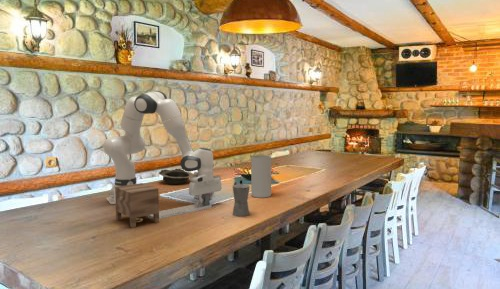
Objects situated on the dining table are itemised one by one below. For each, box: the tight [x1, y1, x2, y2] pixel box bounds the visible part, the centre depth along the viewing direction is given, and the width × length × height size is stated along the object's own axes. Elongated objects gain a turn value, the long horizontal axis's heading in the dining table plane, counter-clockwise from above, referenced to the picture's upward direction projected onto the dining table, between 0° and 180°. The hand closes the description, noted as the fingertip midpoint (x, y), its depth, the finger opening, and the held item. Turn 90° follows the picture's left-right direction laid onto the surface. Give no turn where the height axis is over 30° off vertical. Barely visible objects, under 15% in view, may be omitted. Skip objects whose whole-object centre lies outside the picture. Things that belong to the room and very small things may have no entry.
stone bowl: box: [158, 168, 194, 185], centre depth 281 cm, size 25×25×9 cm
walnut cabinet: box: [115, 182, 160, 229], centre depth 186 cm, size 18×15×16 cm
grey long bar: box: [146, 193, 213, 220], centre depth 203 cm, size 36×8×7 cm, turn 132°
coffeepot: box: [232, 179, 250, 217], centre depth 199 cm, size 15×9×18 cm, turn 25°
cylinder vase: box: [250, 154, 272, 199], centre depth 238 cm, size 12×12×25 cm
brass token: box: [136, 217, 144, 223], centre depth 187 cm, size 5×5×1 cm
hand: (205, 200), depth 214 cm, fingers open, 5 cm apart
